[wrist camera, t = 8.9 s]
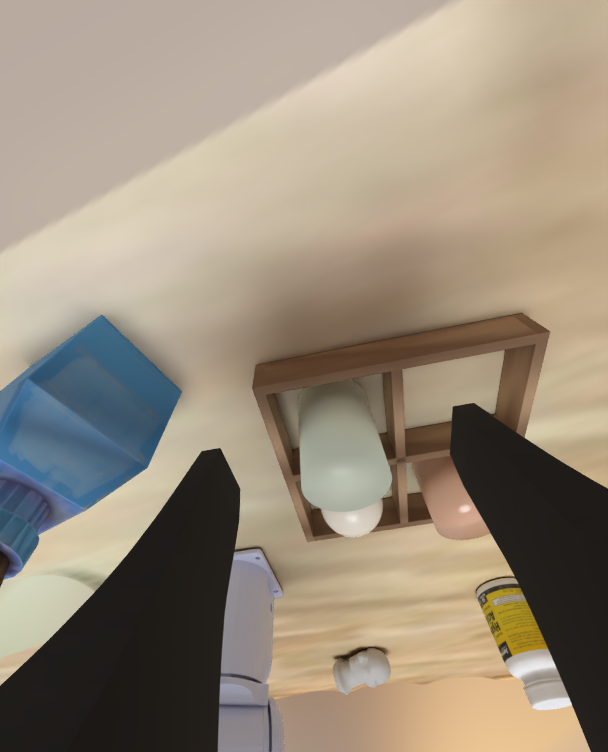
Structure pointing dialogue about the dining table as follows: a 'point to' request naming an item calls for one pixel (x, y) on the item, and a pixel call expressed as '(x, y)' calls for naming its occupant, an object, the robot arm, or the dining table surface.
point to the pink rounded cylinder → (448, 499)
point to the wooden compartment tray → (401, 445)
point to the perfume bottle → (75, 433)
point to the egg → (354, 520)
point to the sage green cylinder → (340, 448)
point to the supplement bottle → (522, 643)
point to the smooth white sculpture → (361, 670)
